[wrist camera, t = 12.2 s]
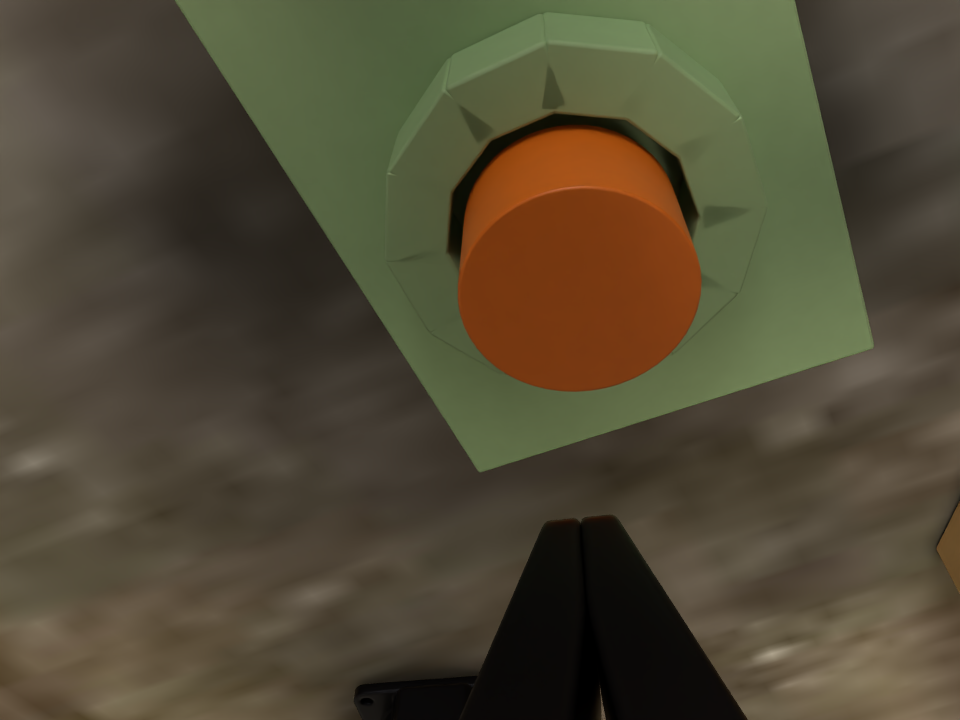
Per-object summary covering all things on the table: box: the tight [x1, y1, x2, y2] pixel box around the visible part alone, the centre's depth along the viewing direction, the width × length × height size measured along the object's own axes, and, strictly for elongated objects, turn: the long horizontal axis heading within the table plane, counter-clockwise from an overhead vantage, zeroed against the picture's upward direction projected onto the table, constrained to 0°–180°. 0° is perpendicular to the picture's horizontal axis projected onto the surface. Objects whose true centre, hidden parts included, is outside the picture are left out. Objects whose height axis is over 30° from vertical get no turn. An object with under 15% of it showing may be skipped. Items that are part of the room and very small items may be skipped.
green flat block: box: [175, 0, 874, 472], centre depth 17 cm, size 13×10×4 cm
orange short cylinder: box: [458, 125, 702, 392], centre depth 15 cm, size 4×4×2 cm
